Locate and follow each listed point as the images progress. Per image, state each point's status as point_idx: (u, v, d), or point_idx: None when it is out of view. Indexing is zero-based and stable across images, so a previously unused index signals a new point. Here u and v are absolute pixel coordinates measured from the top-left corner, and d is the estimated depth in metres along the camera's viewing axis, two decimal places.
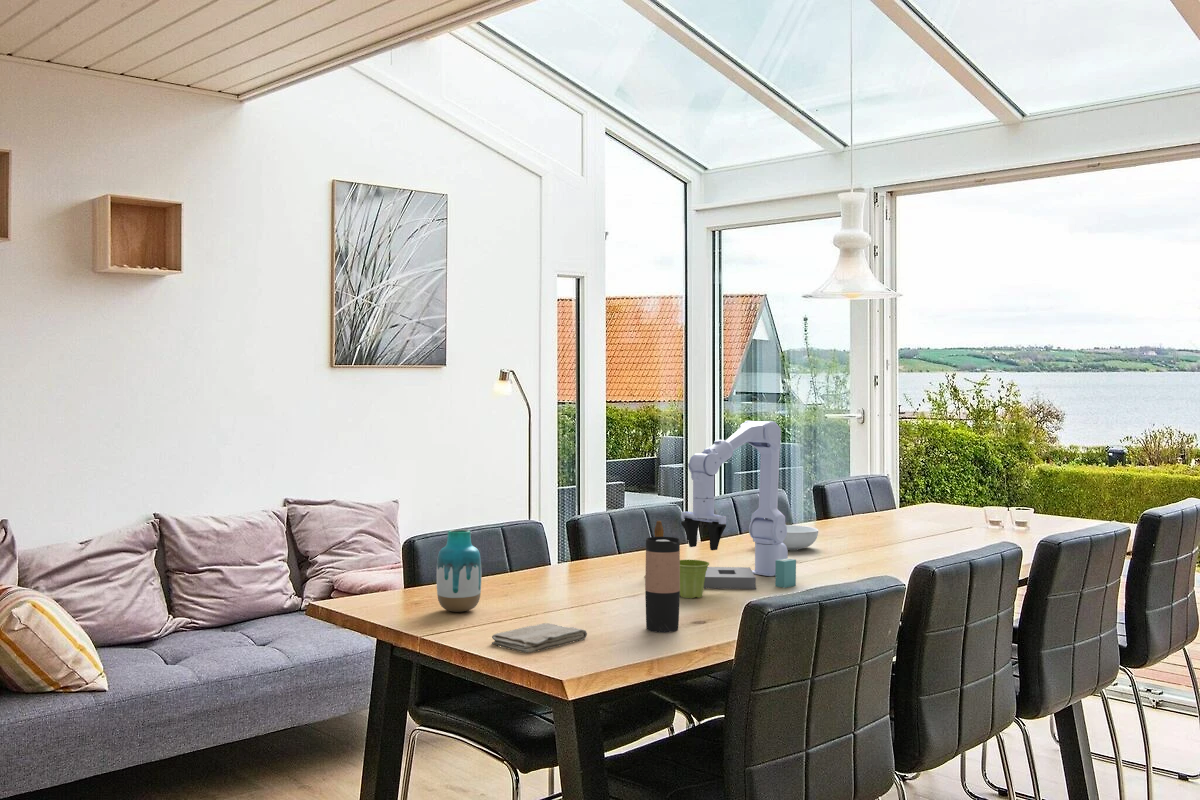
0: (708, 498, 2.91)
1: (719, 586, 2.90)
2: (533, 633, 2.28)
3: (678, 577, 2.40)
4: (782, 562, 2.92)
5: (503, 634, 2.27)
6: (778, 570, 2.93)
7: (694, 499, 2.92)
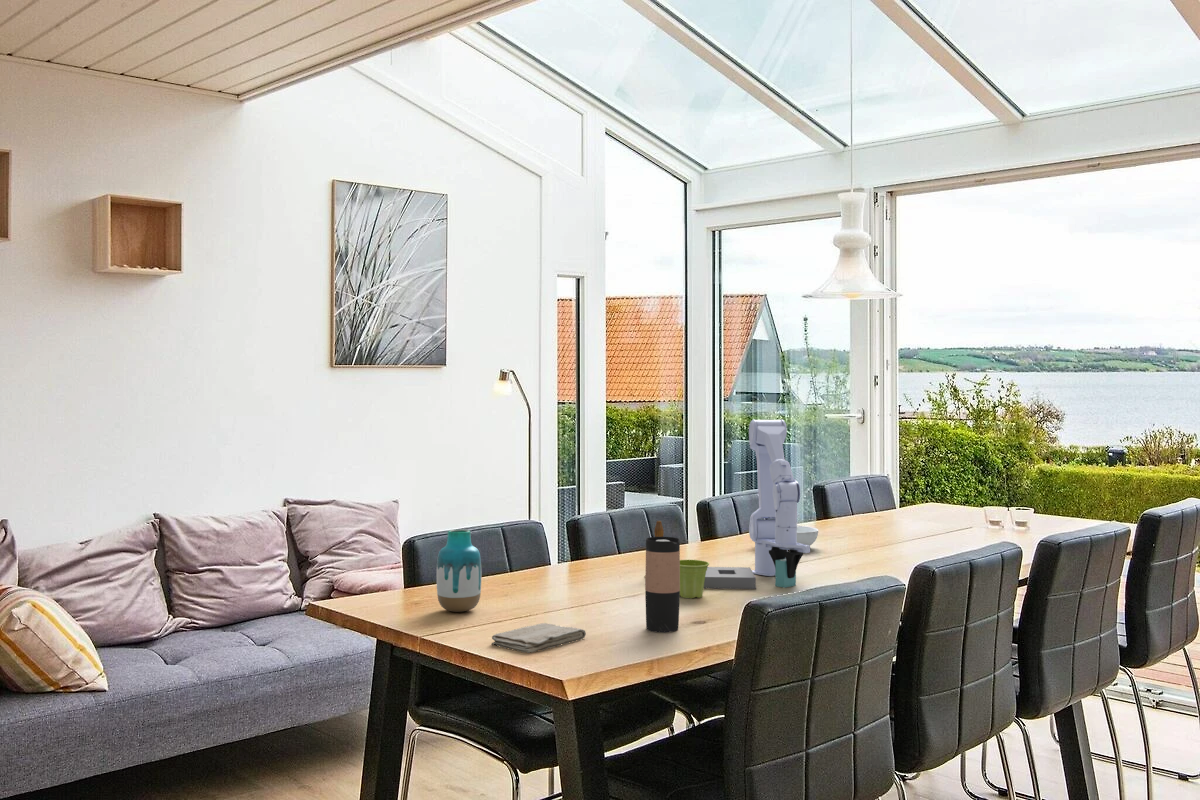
0: (791, 527, 2.91)
1: (719, 586, 2.90)
2: (533, 633, 2.28)
3: (678, 577, 2.40)
4: (782, 562, 2.92)
5: (503, 634, 2.27)
6: (778, 570, 2.93)
7: (777, 528, 2.93)
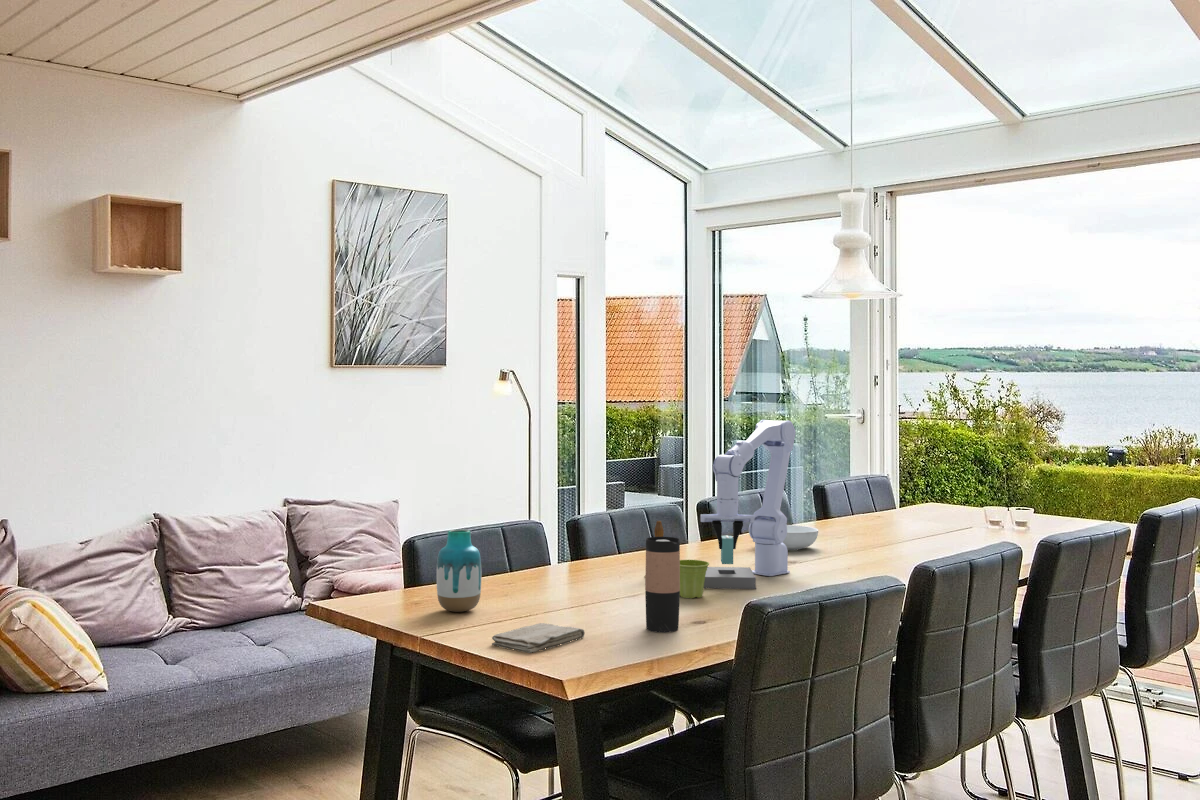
0: (737, 498, 2.96)
1: (719, 586, 2.90)
2: (533, 633, 2.28)
3: (678, 577, 2.40)
4: (730, 539, 2.95)
5: (503, 635, 2.26)
6: (725, 548, 2.96)
7: (725, 501, 2.95)
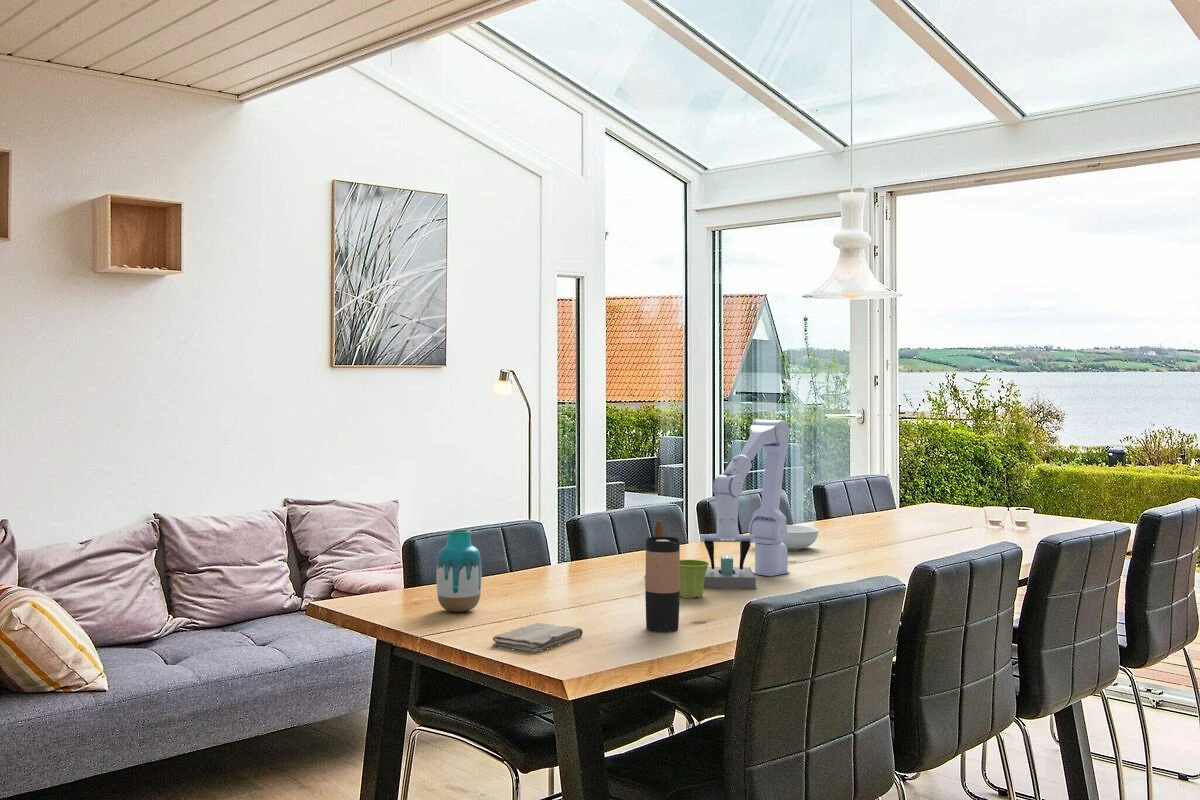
0: (737, 519, 2.96)
1: (719, 586, 2.90)
2: (533, 633, 2.28)
3: (678, 577, 2.40)
4: (730, 560, 2.96)
5: (504, 635, 2.26)
6: (725, 568, 2.96)
7: (724, 521, 2.95)
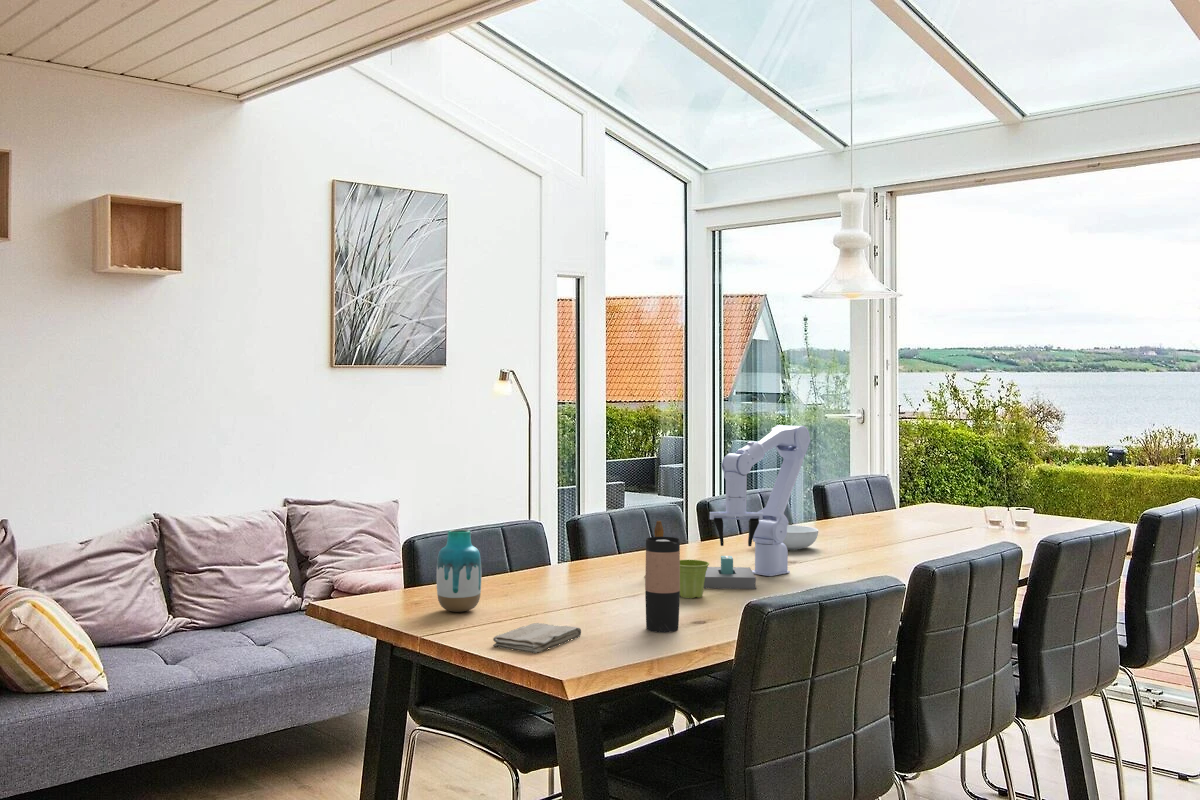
0: (746, 496, 3.02)
1: (719, 586, 2.90)
2: (533, 633, 2.28)
3: (678, 577, 2.40)
4: (730, 560, 2.96)
5: (505, 636, 2.25)
6: (725, 568, 2.96)
7: (733, 498, 3.00)
